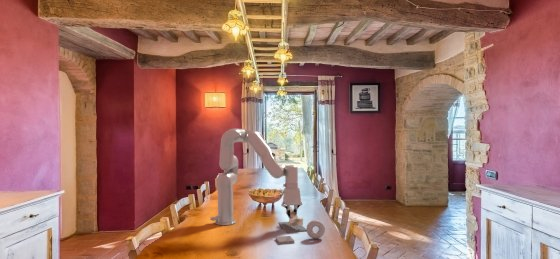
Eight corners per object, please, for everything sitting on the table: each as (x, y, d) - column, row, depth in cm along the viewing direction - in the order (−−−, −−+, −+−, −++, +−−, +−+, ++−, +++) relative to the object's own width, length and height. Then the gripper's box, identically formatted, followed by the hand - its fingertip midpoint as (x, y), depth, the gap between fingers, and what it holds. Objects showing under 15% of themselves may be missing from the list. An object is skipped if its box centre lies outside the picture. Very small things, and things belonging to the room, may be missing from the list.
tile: (275, 240, 178) (279, 245, 170) (275, 237, 178) (279, 241, 170) (290, 238, 180) (294, 243, 172) (290, 235, 180) (294, 240, 172)
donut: (324, 237, 181) (324, 219, 181) (325, 239, 177) (325, 220, 178) (306, 237, 181) (306, 219, 181) (306, 239, 177) (306, 220, 177)
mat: (287, 232, 190) (287, 231, 190) (278, 223, 209) (278, 222, 209) (307, 231, 193) (307, 230, 193) (297, 222, 212) (297, 221, 212)
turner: (289, 226, 193) (289, 219, 192) (282, 213, 209) (282, 207, 209) (302, 224, 195) (303, 218, 194) (294, 212, 211) (294, 206, 210)
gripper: (280, 187, 197) (280, 218, 197) (306, 186, 201) (306, 216, 201) (277, 185, 204) (277, 215, 204) (302, 184, 208) (303, 213, 208)
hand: (292, 215), depth 202 cm, fingers closed on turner, 3 cm apart
